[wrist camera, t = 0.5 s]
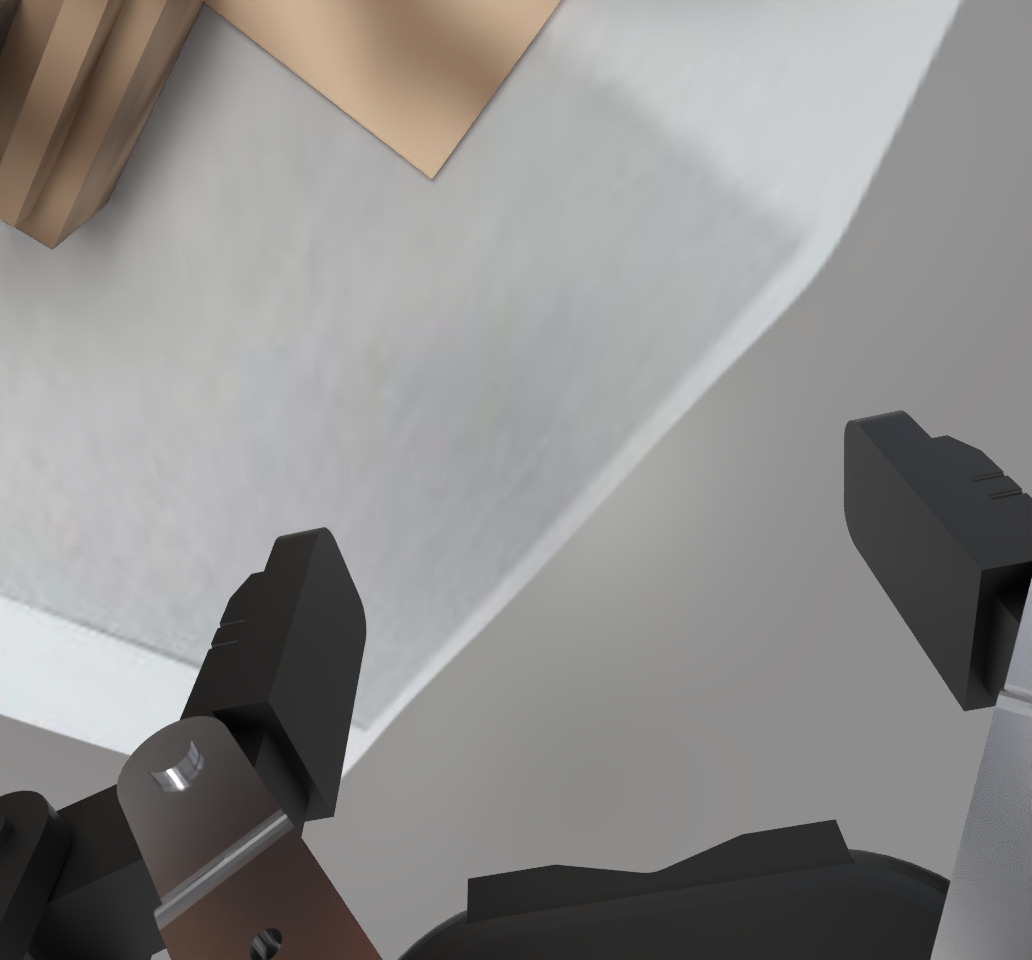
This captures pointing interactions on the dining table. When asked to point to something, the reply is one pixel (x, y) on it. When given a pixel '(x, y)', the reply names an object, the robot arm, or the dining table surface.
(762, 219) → the dining table surface
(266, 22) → the cork mat
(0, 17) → the gunmetal C-link
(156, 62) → the walnut stand
